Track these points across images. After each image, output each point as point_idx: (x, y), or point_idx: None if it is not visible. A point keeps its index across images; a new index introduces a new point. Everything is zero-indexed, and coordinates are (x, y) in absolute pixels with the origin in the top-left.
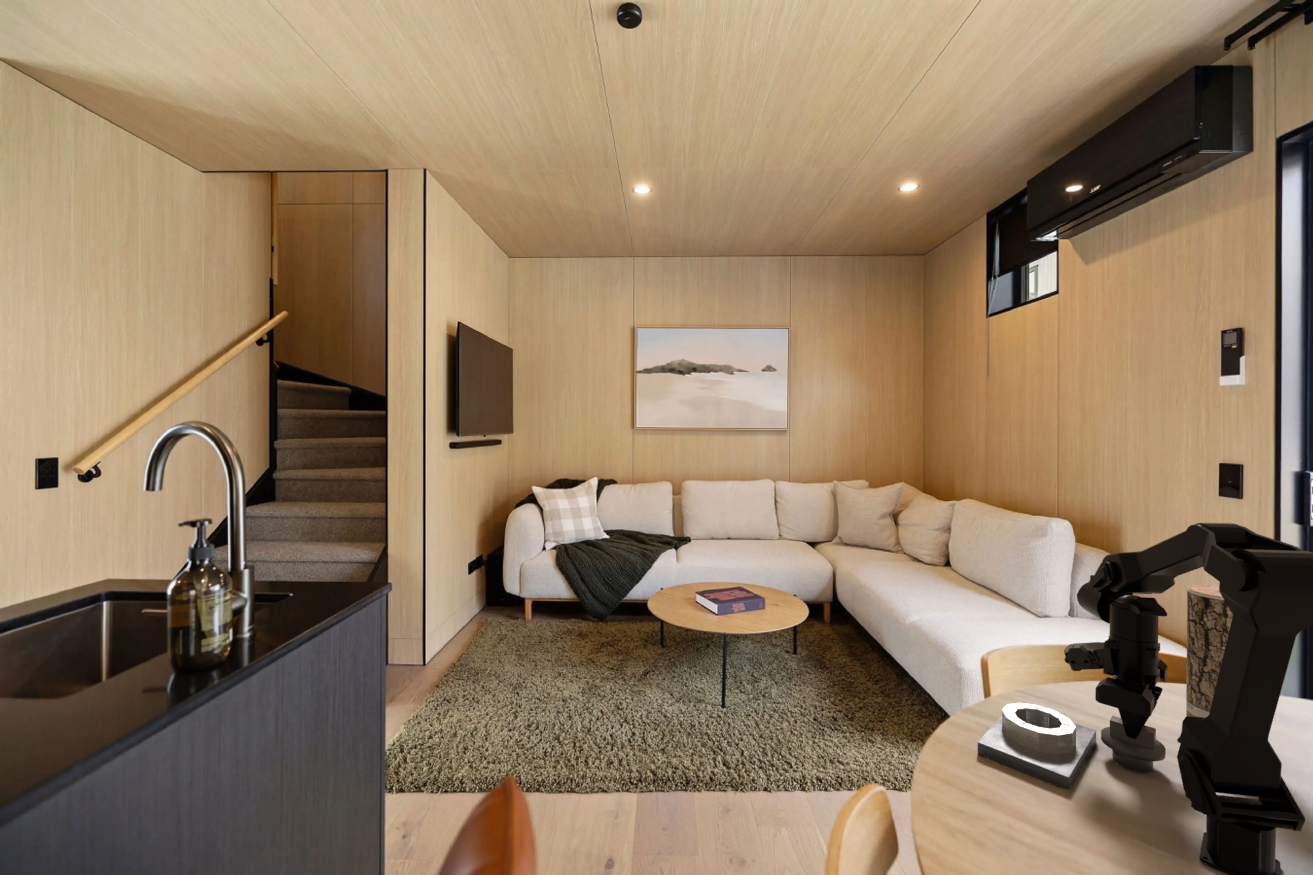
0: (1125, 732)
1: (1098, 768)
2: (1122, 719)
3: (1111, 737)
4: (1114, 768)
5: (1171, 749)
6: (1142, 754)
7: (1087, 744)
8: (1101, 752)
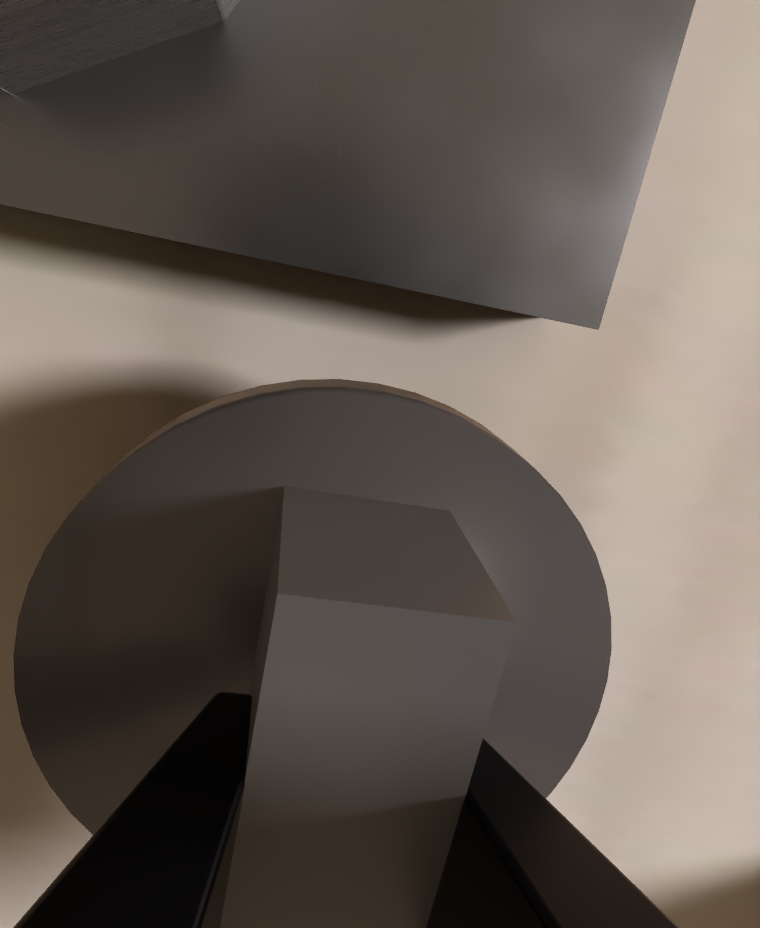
0: (200, 713)
1: (12, 324)
2: (48, 896)
3: (236, 503)
4: (122, 443)
5: (701, 754)
6: (46, 757)
7: (156, 232)
8: (363, 354)
